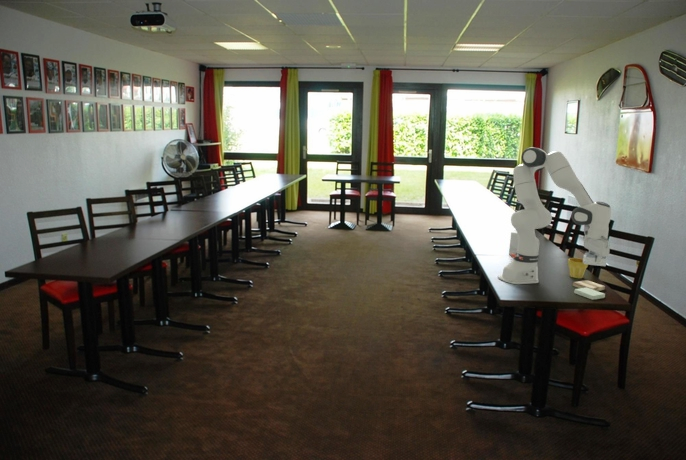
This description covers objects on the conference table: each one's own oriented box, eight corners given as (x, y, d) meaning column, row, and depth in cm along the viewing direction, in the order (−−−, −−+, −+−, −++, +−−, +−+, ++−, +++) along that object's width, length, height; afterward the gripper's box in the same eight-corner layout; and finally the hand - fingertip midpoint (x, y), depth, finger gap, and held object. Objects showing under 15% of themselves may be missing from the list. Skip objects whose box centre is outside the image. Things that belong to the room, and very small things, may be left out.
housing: (584, 264, 275) (585, 254, 274) (582, 262, 279) (584, 252, 278) (605, 266, 273) (607, 256, 272) (603, 264, 277) (605, 254, 276)
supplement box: (526, 254, 355) (528, 232, 352) (522, 257, 348) (525, 234, 344) (512, 252, 360) (514, 230, 357) (508, 254, 352) (510, 232, 349)
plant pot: (563, 276, 308) (565, 259, 306) (569, 273, 315) (572, 256, 313) (582, 280, 301) (584, 263, 299) (588, 277, 309) (590, 260, 307)
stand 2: (592, 299, 269) (593, 295, 268) (574, 293, 278) (574, 289, 278) (604, 297, 273) (605, 293, 273) (585, 291, 283) (586, 287, 282)
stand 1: (590, 292, 281) (591, 288, 281) (572, 285, 291) (573, 282, 290) (604, 289, 286) (605, 286, 286) (586, 283, 296) (587, 280, 295)
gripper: (614, 239, 263) (610, 266, 266) (594, 230, 283) (591, 256, 286) (602, 238, 263) (598, 266, 265) (583, 229, 283) (579, 255, 285)
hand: (594, 260), depth 276 cm, fingers closed on housing, 5 cm apart
